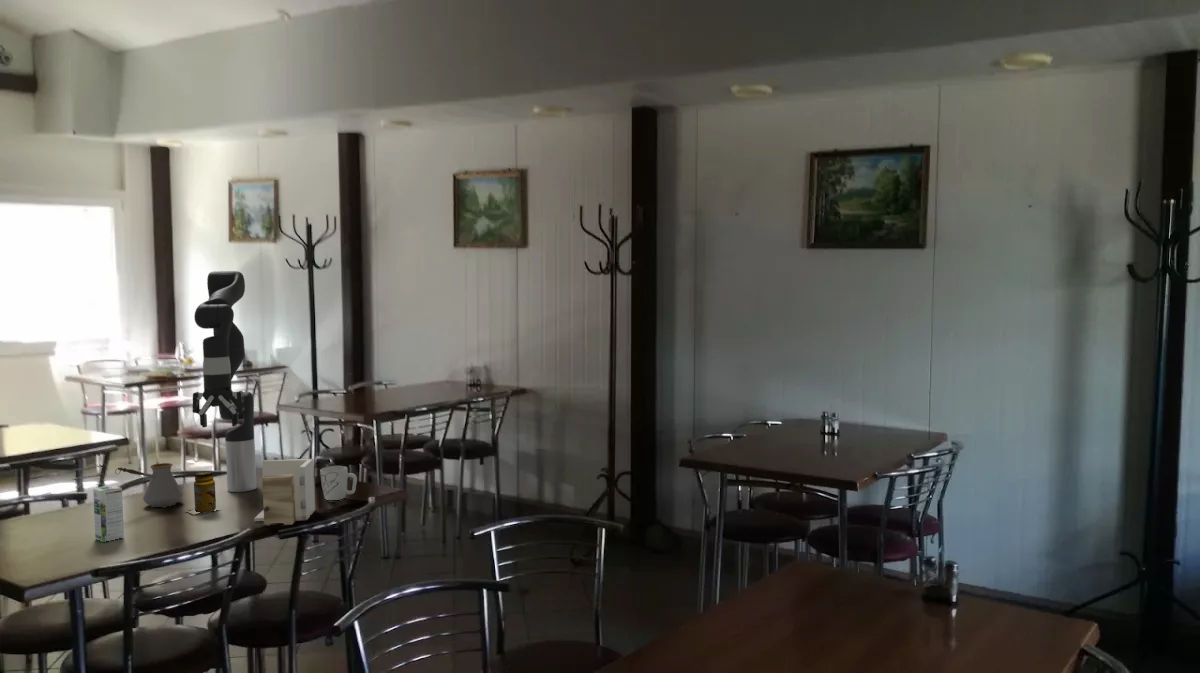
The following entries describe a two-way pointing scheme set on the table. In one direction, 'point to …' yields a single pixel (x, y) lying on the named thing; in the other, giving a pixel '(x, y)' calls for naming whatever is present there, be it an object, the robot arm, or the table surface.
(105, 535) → the syrup box
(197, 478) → the condiment
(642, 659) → the table surface
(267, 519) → the door
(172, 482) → the coffee pot
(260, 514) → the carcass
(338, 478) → the mug
